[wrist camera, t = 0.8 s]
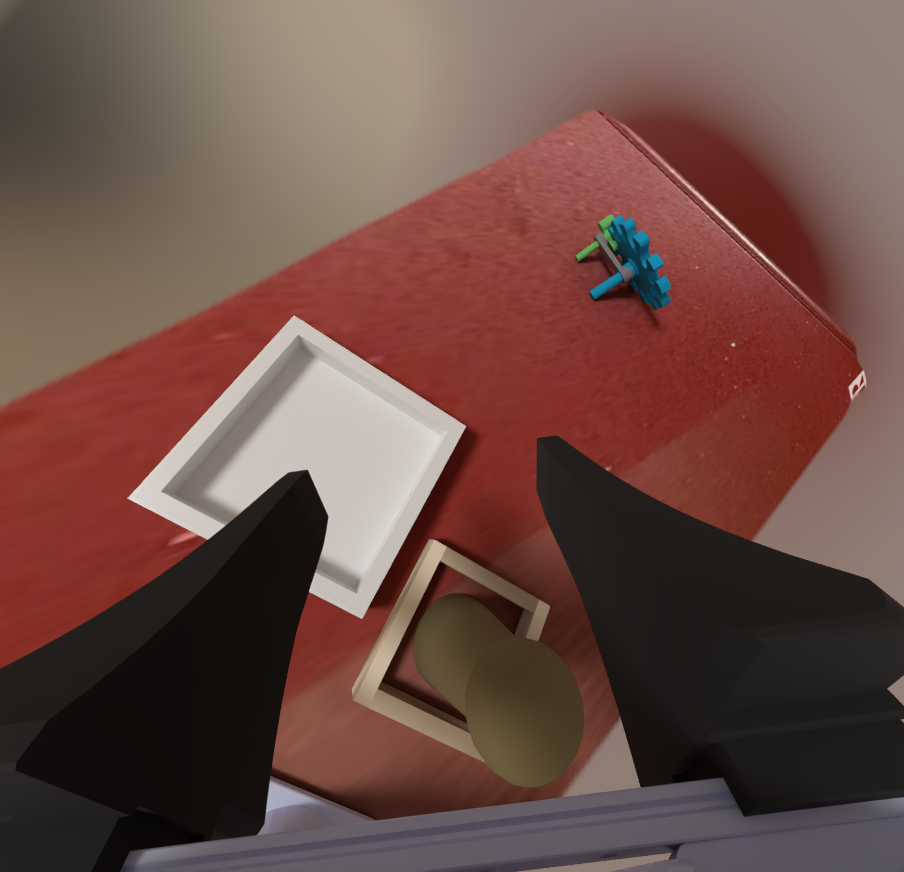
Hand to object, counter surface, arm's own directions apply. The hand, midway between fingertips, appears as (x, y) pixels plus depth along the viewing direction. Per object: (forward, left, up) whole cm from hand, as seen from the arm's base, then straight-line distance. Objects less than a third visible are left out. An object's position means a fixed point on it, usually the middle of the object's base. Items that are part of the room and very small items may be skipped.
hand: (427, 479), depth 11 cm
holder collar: (-5, -10, -14) cm, 18 cm away
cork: (-5, -10, -15) cm, 18 cm away
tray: (+1, +4, -14) cm, 15 cm away
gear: (+33, -9, -15) cm, 37 cm away
